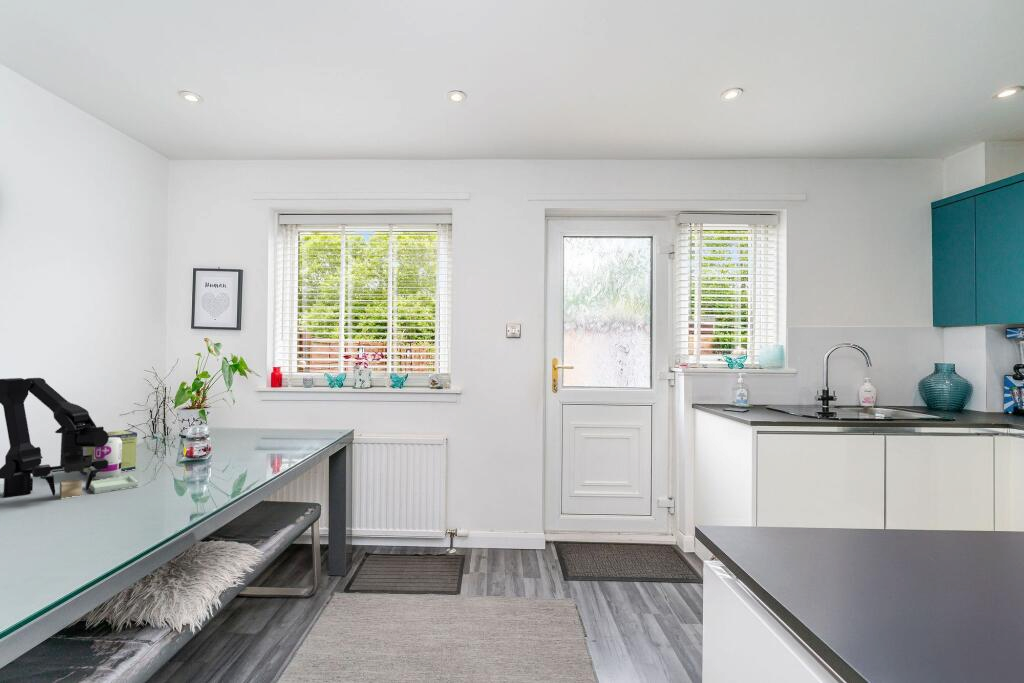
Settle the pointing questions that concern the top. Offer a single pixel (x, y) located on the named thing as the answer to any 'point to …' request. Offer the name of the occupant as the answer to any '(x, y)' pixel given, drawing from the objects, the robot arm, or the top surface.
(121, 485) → the tray
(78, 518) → the top surface
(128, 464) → the protein box
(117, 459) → the supplement can
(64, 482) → the maple cube
